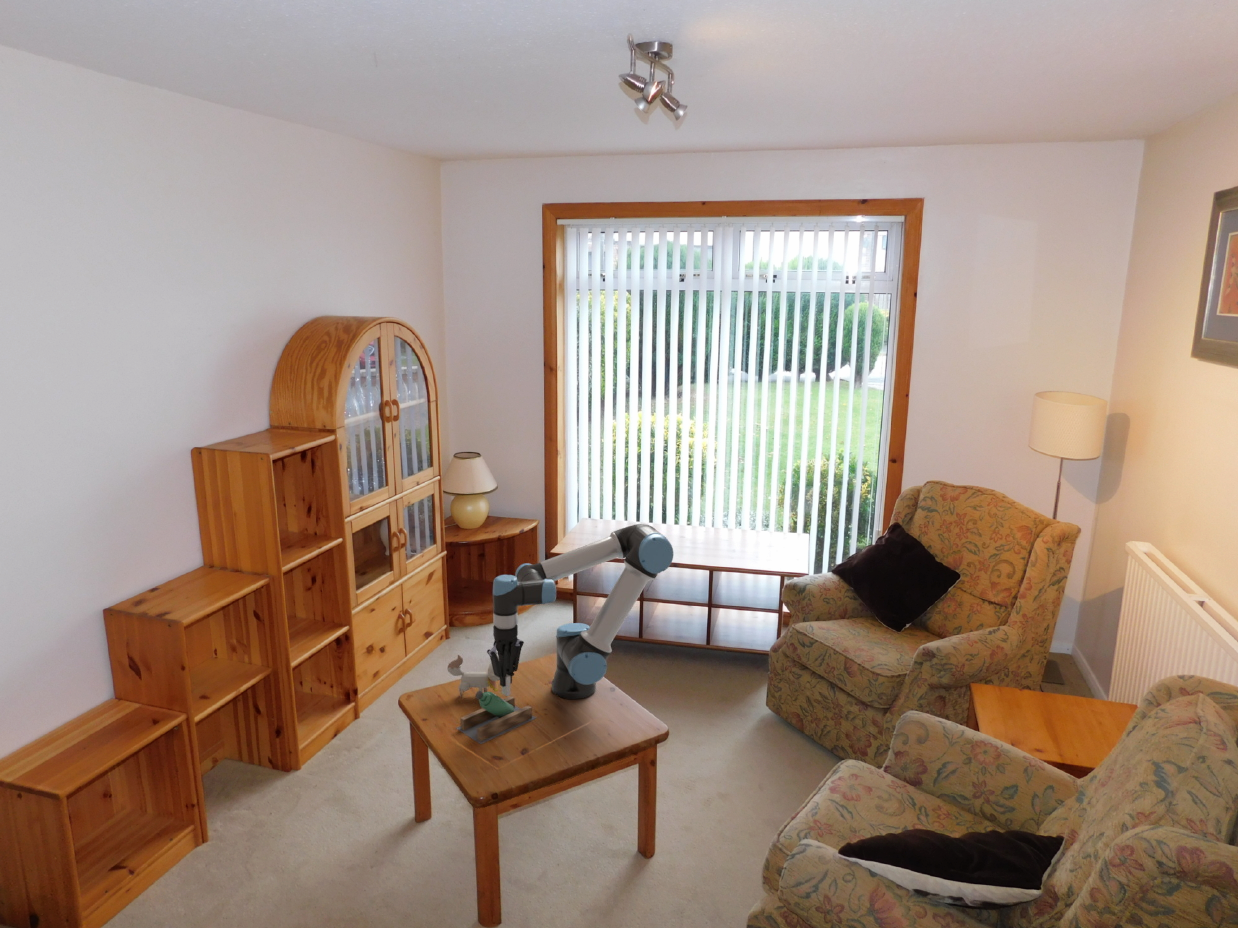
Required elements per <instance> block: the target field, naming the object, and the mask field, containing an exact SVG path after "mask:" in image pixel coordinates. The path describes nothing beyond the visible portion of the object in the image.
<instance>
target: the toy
mask: <svg viewBox="0 0 1238 928" xmlns="http://www.w3.org/2000/svg"><path fill="white" fill-rule="evenodd" d="M497 657H498V661H499V656H498V655H497ZM463 663H464V659H463V657H462V656H461V655H459V654H457V658H455V659H454V660H452V661H450V662H448V665H447V672H448V673H449V674H450V675H452V676H454V677H458V676H459V677H460V676H461V677H460V683H459V685H458V691H459V695H460V696H459V697H460V698H463V694H465V692H467V691H469V690H470V688H478V691H481V692H483V693H484V692H489V691H488V688H490V689H492V690H493V691H494V692H495V693H496V692H497V691H498V688H499V684H498V681H500V678H499V677H497V676H496V675H494V671H493V667H492V663H491V662H490V664H489V665H488V669H487V671H467V672H464V671H463V670H462V669H461V667H462V666H461V665H463Z"/></svg>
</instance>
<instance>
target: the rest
mask: <svg viewBox="0 0 1238 928" xmlns="http://www.w3.org/2000/svg"><path fill="white" fill-rule="evenodd" d="M515 698H516V697H515V696H512V695H509V696H506V697H505V698H502V699H503V700H505V701H506V702H508V703H509V704H511V705H512V706H513V707H514V708H515V706H516V704H515ZM532 715H533V707H532V706H530V705H525V706H524V707H522V708H520V709H519V710H517V711H515V712H512V713H510V714H508V715H506V716H504V717H501V718H499V719H497V720H495V721H492V722H490V723H488V724H486V725H484V726H481V727H479V728H477V739H478V740H480V741H483V740H485V739H487V738H489V737H492V736H494V735H496V734H498V733H500V732H502V731H504V730H507V729H509V728H511V727H513V726H515V725H517V724H519V723H522V722H524V721H526V720H528V719H530V718H532ZM493 717H495V715H493V714H492V713H490V712H488V711H487V710H485V709H483V708H482V707H481V708H480V709H478V710H476V711H473V712H470V713H469V714H466V715H464V716H461V717H460V718H459V721H460V722H459V724H460V726H461V729H462V730H466V729H469V728H471V727H473V726H475V725H477V724H480V723H482V722H484V721H486V720H489V719H491V718H493Z"/></svg>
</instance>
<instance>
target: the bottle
mask: <svg viewBox="0 0 1238 928" xmlns="http://www.w3.org/2000/svg"><path fill="white" fill-rule="evenodd" d="M474 698H475V699H477V700H478V702H479V705H480V707H481V709H482V708H483V709H485V710H487V711H488V712H490V713H492V714H493V715H495V716H496V717H498V718H501V717H504V716H506V715H508V714H510V713H512V712H514V707H513V706H512V705H511V704H509V703H508V702H506V701H505V700H503V699H504V698H501V697H500V696H499V695H497V694H496V693H494V692H492V691H488V692H484V691H483V692H481V691H479V690H478V691H477V692H476V693H475V697H474Z"/></svg>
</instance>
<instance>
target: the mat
mask: <svg viewBox="0 0 1238 928" xmlns="http://www.w3.org/2000/svg"><path fill="white" fill-rule="evenodd" d="M519 709H521V708H520V707H518V706H517V705H515V708H514V712H515V711H517V710H519ZM497 719H499V718H498V717H496V716H495V717H493V718H491V719H489V720H486V721H484V722H482V723H480V724H477V725H475V726H473V727H471V728H469V729H466V730H462V729H461V725H460V726H458V727H455V729H456V730H458V731H460V733H462V734H464V735H465V736H467V737H469V738H470V739H471V740H473V741H475V742H476V743H478V744H479V745H483V744H484V743H487V742H488V741H491V740H493V739H495V738H498V737H500V736H502V735H504V734H507V733H508V732H510V731H512V730H514V729H517V728H519V727H520V726H523V725H526V724H527V723H529V722H532V721H533V720H535V719H537V716H534V715H533V714H532V718H530V719H528V720H526V721H524V722H522V723H519V724H517V725H515V726H513V727H511V728H509V729H507V730H504V731H502V732H500V733H498V734H496V735H494V736H492V737H489V738H487V739H485V740H483V741H480V740H478V739H477V728H479V727H481V726H484V725H486V724H488V723H490V722H492V721H495V720H497Z"/></svg>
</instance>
